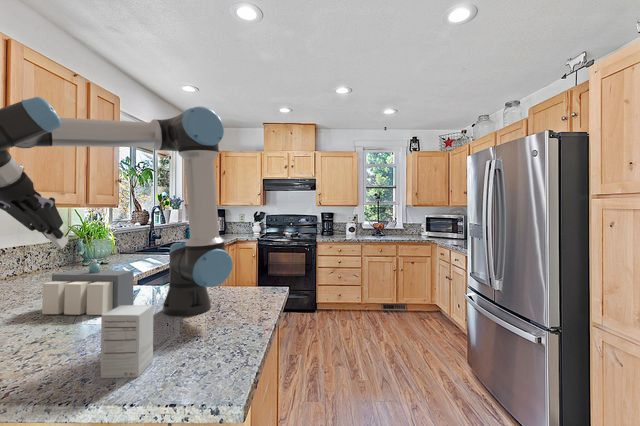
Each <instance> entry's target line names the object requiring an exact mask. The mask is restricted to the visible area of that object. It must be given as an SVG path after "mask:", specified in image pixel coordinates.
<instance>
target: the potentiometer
mask: <svg viewBox="0 0 640 426" xmlns="http://www.w3.org/2000/svg"><path fill="white" fill-rule="evenodd" d="M97 261H98V260H97V259H92V263H89V266H88V270H89V273H99V272H100V270H101V268H100V267H101V264H100V263H97Z"/></svg>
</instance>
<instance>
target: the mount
mask: <svg viewBox="0 0 640 426" xmlns="http://www.w3.org/2000/svg"><path fill="white" fill-rule="evenodd" d="M134 272H135V271H134V270H113V269H112V270H101V269H100V272H99V273H89V269H87V270H86V269H71V270H66V271H61V272H57V273H52V274H51V282H53V281H71V283H68V284H65V305H64V312H63V314H64V315H76V316H77V315H83V314H85V313H87V284H90V283H94V282H97V281H113V309H114V308H116V307H118V306H120V305H134V281H135V280H134V274H135V273H134Z"/></svg>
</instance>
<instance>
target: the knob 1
mask: <svg viewBox="0 0 640 426" xmlns="http://www.w3.org/2000/svg"><path fill="white" fill-rule="evenodd" d="M68 283H71V281H53V282H52V281H49V282H45V283H42V299H41V301H42V304H41V305H42V306H41V307H42V308H41V309H42V312H41V315H60V314H64V305H65V284H68Z"/></svg>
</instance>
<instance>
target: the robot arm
mask: <svg viewBox="0 0 640 426" xmlns="http://www.w3.org/2000/svg"><path fill="white" fill-rule="evenodd" d="M224 135H225V128H224V124H223V121H222V119H221V117H220V116H219V115H217V113H216V112H215V111H214V110H212V109H210V108H208V107H205V106H194V107H190V108H188V109H187V108H186V110H185V111H183V112H182V113H180V114H178V115H176V116H174V117H170V118H166V119H156V118H155V119H151V121H147V122H146V121H132V120H131V121H129V120H115V119H114V120H112V119H111V120H109V119H96V118H95V119H93V118H92V119H90V118H74V117H73V118H72V117H60V116H59V114H58V113H57V112H56V110H55V109H54V108H53V106H52V105H51V104H50V103H49V102H48V101H47V100H46V99H45V98H43V97H41V96H34V97H32V98H28V99H21V101H18V102H15V103H13V104H10V105H7V106H4V107H1V108H0V210H2V211H4V212H5V213H7V214H9V215H10V216H11V217H12V218H13V219H14V220H16V221H18V222H19V223H20V224H21V225H22V226H24V227H25V228H27V229H28V230H30V231H32V232H33V231H35V230H36V231H37V232H39V233H41V234H42V235H43V236H44V237H45V238H46V239H48V240H49V241H50V242H51V243H52V244H53V246H54V247H55V248H56V249H59V250H63V249H64V248H65V247H66V245H67V244H68V243H69V240H68V239H67V237H66V236H65V234H64V232H63V231H62V229H60V228H62V226H63V225H64V221H63V219H62V217H61V215H60V211H59V210H58V209H57V207H56V204H55V203H56V199H55V198H54V197H51V196H50V197H49V198H45V197H44V196H42V195H41V194H40V193H39V192H37V191H36V190H35V188H34V187H35V185H34V182H33V180H32V179H31V178H30V177H29V176H28V175H27V173H26V172H25V171H23V169H22V167H21V165H20V164H19V163H18V162H17V161H16V160H15V158H14V157H13V156H12V155H11V154H10V153H9V151H8V149H11V148H14V147H15V148H19V149H30V148H31V149H32V148H35V147H41V148H42V147H47V148H48V147H78V148H79V147H89V148H90V147H91V148H93V147H97V148H98V147H99V148H101V147H102V148H105V147H106V148H109V147H110V148H152V149H153V150H154V151H163V152H164V151H166V152H167V151H168V152H178V155H179V156H180V157H181V158H182V159H183V160H184V172H185V173H184V174H185V186H186V187H185V188H186V200H187V215H188V227H189V239H188V240H187V241H185V242H175V243H172V244H171V245H170V248H169V253H168V255H169V270H168V271H169V273H168V274H169V276H168V277H169V280H168V287H169V288H168V291H167V293H166V296H165V299H164V301H163V302H164V303H163V304H162V313H163V314H164V315H167V316H170V317H171V316H173V317H186V316H187V317H188V316H194V315H199V314H203V313H207V312H208V311H210V310H211V308H212V306H211V305H212V301H211V297H210V295H209V291H208V288H215V287H218V286H221V285H222V284H223V283H225V282H226V281H227V279H228V278H230V275H231V274H232V271H233V259H232V256H231V255H230V254H229V253H228V251H226V243H225V239H223V238H222V237H221V236H220V232H219V231H220V229H219V213H218V200H217V199H218V198H217V185H216V169H215V168H216V167H215V159H216V158H217V157H218V156H219V154H220V151H219V143H220V142H221V141H222V140H223V137H224Z"/></svg>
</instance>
